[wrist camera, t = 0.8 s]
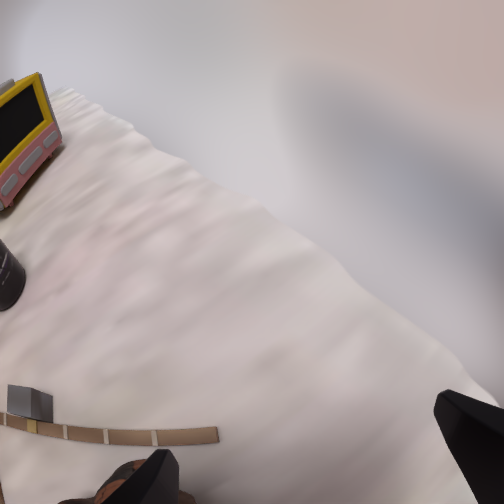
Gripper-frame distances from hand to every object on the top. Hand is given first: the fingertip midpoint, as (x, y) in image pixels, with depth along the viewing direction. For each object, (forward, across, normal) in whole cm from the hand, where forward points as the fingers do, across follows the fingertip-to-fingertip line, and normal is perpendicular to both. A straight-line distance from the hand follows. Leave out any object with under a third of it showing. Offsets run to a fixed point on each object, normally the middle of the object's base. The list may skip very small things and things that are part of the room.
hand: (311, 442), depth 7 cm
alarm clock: (+35, +42, -20) cm, 58 cm away
